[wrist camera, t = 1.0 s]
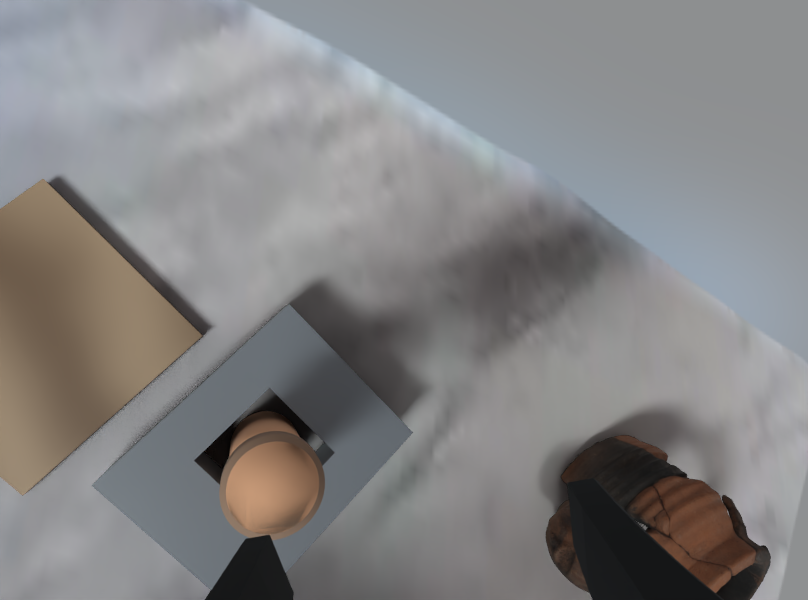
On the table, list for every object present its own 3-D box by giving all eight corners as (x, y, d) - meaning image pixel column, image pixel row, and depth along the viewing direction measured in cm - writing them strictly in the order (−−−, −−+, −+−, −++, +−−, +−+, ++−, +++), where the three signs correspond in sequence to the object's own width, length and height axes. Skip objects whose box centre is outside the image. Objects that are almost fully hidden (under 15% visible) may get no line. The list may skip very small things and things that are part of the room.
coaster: (28, 491, 21) (22, 495, 20) (-160, 331, 19) (-172, 331, 19) (203, 335, 23) (202, 335, 22) (48, 182, 22) (42, 178, 21)
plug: (263, 497, 23) (271, 562, 17) (209, 446, 23) (195, 493, 16) (316, 441, 24) (345, 482, 18) (266, 391, 24) (276, 413, 17)
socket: (243, 589, 23) (243, 619, 20) (108, 468, 22) (91, 485, 19) (396, 423, 26) (412, 432, 23) (284, 306, 24) (289, 303, 22)
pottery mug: (667, 419, 31) (814, 521, 25) (604, 536, 34) (720, 655, 28) (527, 429, 25) (675, 570, 18) (464, 572, 28) (572, 737, 21)
